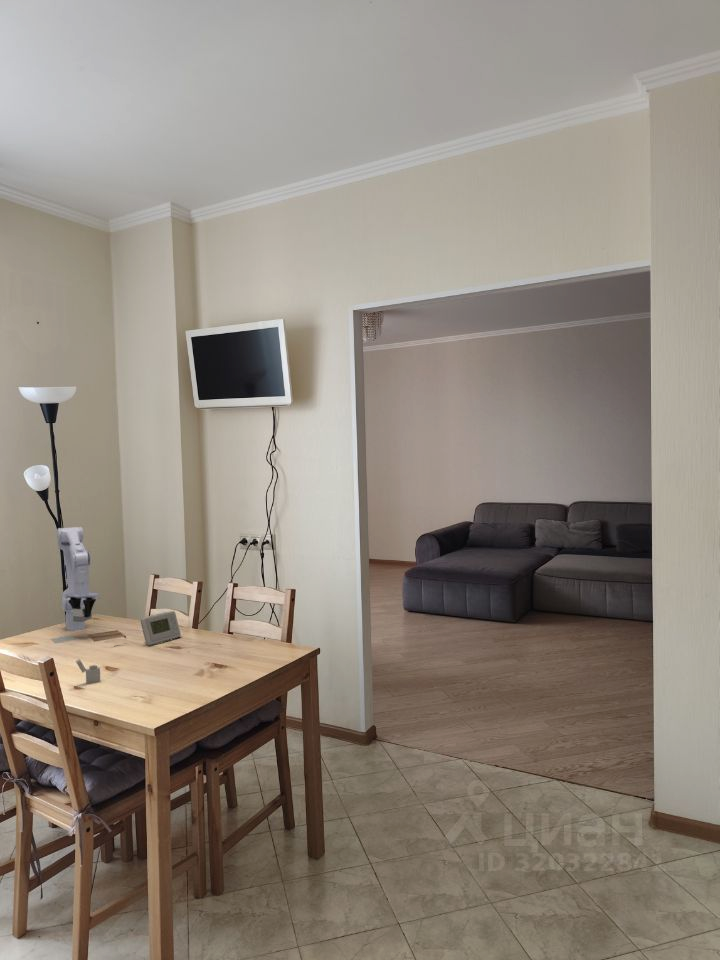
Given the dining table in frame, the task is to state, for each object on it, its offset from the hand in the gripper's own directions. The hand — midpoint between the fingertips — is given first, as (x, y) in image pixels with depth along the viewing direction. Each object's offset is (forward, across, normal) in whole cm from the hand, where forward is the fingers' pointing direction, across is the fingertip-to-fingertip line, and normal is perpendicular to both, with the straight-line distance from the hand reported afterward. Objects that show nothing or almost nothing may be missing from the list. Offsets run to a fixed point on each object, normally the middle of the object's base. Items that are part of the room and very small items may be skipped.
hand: (82, 616), depth 272 cm
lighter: (+10, +32, -44) cm, 56 cm away
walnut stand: (+10, +7, +4) cm, 13 cm away
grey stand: (+10, -6, -4) cm, 12 cm away
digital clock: (+10, +31, +5) cm, 33 cm away
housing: (+1, 0, 0) cm, 1 cm away
